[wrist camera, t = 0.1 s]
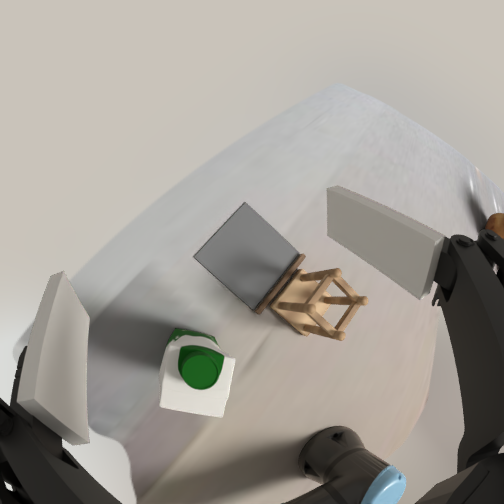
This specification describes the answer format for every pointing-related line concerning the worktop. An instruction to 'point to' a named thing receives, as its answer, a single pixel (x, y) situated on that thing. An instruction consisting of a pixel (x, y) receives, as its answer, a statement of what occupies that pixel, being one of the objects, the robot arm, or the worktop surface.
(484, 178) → the worktop surface
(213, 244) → the mat
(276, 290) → the strip
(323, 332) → the stool
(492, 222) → the butternut squash
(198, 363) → the milk carton
